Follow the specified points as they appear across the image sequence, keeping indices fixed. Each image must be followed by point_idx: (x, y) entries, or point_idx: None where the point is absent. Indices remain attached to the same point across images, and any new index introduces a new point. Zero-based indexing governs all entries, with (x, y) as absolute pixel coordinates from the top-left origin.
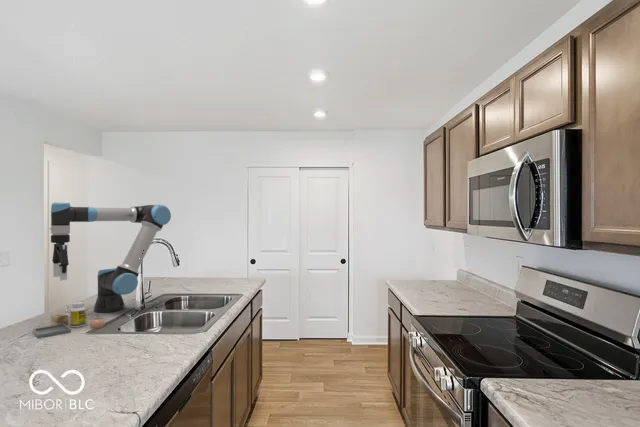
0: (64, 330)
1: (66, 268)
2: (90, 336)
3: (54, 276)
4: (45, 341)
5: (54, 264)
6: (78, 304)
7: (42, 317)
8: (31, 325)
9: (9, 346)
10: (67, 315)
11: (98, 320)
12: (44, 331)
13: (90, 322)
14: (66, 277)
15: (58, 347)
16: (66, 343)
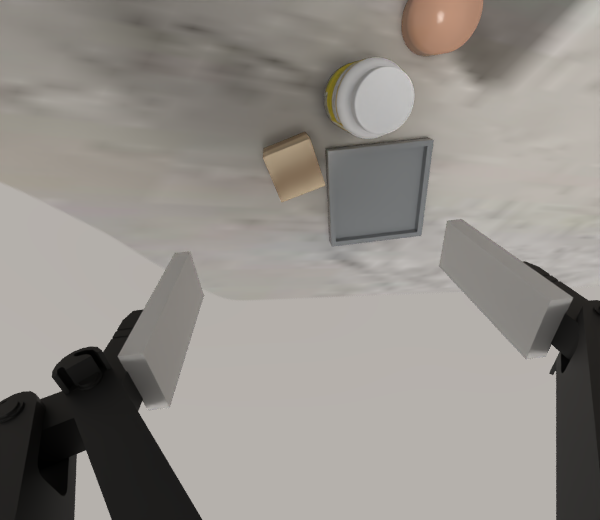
0: (430, 161)
1: (542, 284)
2: (546, 81)
3: (200, 293)
4: (466, 215)
5: (168, 393)
6: (412, 105)
7: (97, 207)
8: (223, 242)
9: (432, 286)
10: (310, 141)
11: (469, 10)
12: (363, 214)
13: (445, 52)
14: (473, 232)
15: (560, 189)
16: (545, 166)
